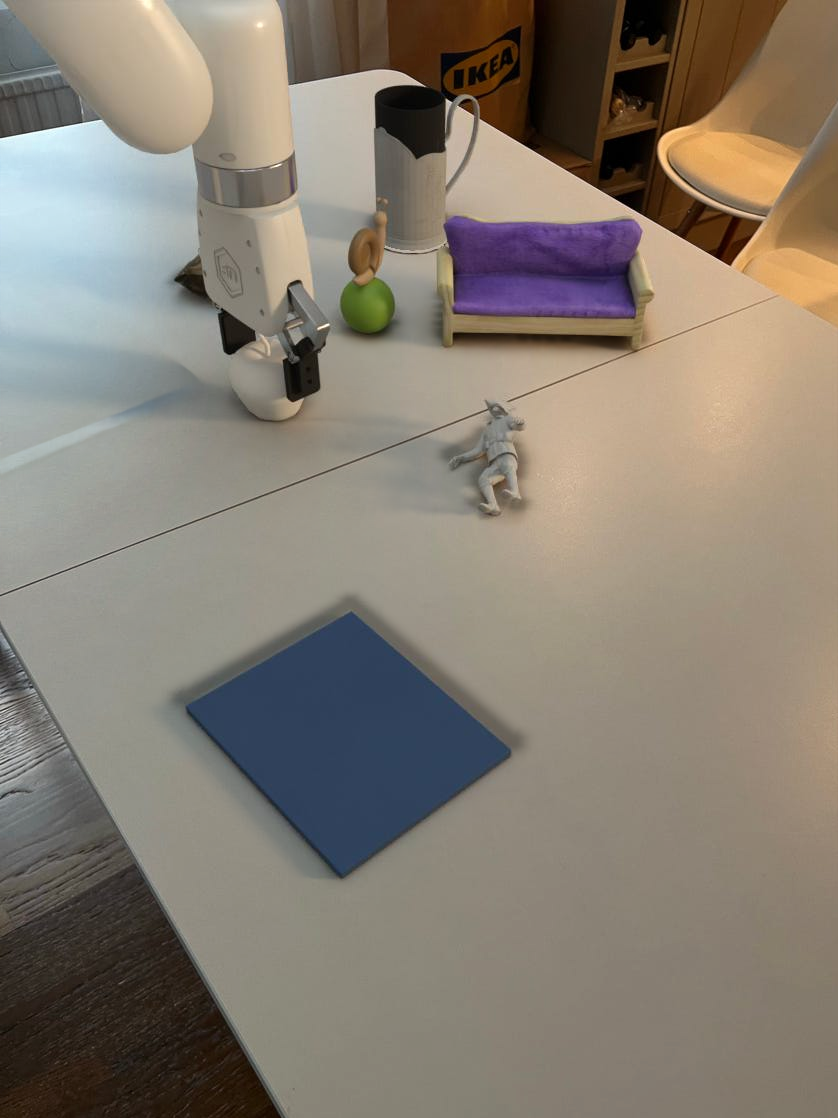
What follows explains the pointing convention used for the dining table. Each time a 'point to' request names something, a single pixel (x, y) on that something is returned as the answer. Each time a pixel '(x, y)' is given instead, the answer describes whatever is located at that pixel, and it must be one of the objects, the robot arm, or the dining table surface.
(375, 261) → the snail figurine
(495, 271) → the toy sofa
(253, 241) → the robot arm
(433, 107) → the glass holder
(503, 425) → the soldier figure
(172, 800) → the dining table surface
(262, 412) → the plain white apple
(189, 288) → the dark brown rough lump
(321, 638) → the blue square board
